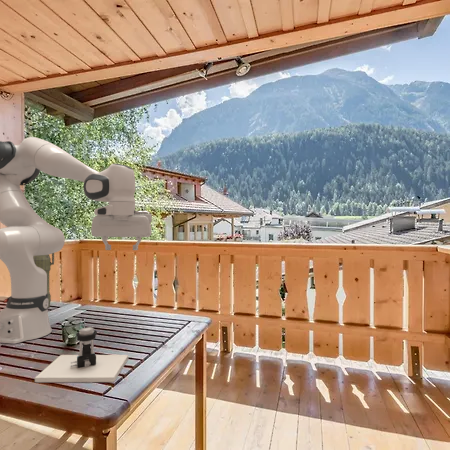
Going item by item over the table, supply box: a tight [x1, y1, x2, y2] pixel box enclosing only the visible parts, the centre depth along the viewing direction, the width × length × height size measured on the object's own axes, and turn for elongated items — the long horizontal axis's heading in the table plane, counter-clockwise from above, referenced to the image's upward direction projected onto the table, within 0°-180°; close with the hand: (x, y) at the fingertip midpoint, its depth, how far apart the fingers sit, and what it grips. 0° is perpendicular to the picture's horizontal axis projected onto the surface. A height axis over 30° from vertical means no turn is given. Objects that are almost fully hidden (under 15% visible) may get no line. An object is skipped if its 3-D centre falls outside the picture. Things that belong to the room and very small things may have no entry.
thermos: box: [33, 253, 55, 309], centre depth 152 cm, size 9×12×35 cm
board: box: [34, 354, 129, 383], centre depth 90 cm, size 20×14×1 cm
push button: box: [71, 326, 98, 368], centre depth 90 cm, size 7×5×10 cm
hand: (121, 250), depth 114 cm, fingers open, 8 cm apart
